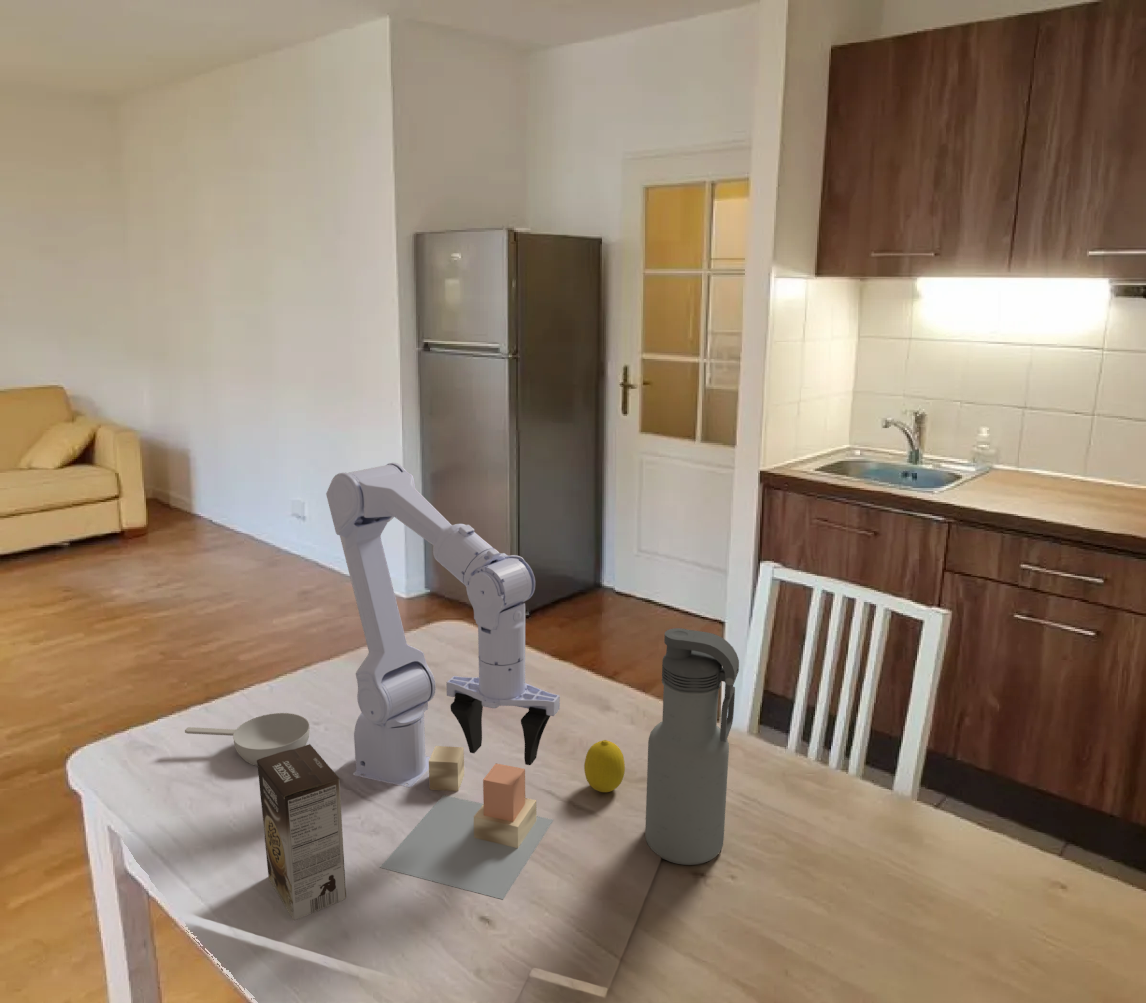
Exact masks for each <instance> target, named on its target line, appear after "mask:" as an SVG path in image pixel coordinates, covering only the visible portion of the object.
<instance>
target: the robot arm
mask: <svg viewBox="0 0 1146 1003" xmlns="http://www.w3.org/2000/svg"><path fill="white" fill-rule="evenodd" d="M325 495H326V498H327V504H328V506H329V507H328V508H329V511H330V515H331V519H332V522H333V528H334V530H335V534H336V535H337V536H339V538H340V542H341V546H342V550H343V554H344V558H345V562H346V566H347V570H348V573H349V578H350V582H351V585H352V590H353V594H354V597H355V602H356V606H357V610H358V614H359V618H360V622H361V625H362V626H361V627H362V630H363V634H364V638H365V639H364V640H365V642H366V646H367V652H368V653H367V656H365V658H364V660H363V662H362V663H361V664H360V666H359V667H358V668H357V670H356V672H355V678H356V682H357V696H356V697H357V704H358V707H359V709H360V714H359V716H358V717H357V719H356V722H355V726H354V730H353V739H354V740H353V742H354V743H353V744H354V760H355V771H354V772H353V773H352V774H353V776H356V777H361V778H365V779H369V780H375V781H378V782H382V783H387V784H391V785H396V786H401V787H406V788H412V787H414V785H415V784H417V782H418V781H419V780H420V779H421V778H422V777H423V776H424V775H425V774H426V773H427V772H429V759H430V757H431V756H427V755H426V754H427V753H426V734H425V733H426V732H425V712H426V711H428V709H429V704H428V702H431V701H432V700H433V698H434V696H436V695H435V694H436V690H437V689H436V688H437V687H436V685H437V684H436V680H435V676H434V674H433V672H432V670H431V668H430V667H429V665H428V663H427V661H426V657H425V654H424V652H423V651H422V650H421V649H418V648H417V647H414V646H411V645H409V644H408V643H407V638H406V635H405V632H404V631H405V630H404V627H403V622H402V618H401V614H400V610H399V607H398V603H397V598H396V594H395V590H394V586H393V583H392V578H391V574H390V569H389V566H388V562H387V558H386V554H385V549H384V546H383V542H382V536H381V535H382V533H384V530H385V528H386V527H387V525H388V523H389V522H390V521H392V520H393V519H394V518H395V519H397V520H398V521H400V522H401V523H402V524H404V525H405V526H406V527H407V528H409V529H411V531H413V532H414V533H416V534H417V535H418V536H420V538H423V539H424V540H425V541H426V542H428V543H429V544H431V545H432V546H433V549H432V553H433V554H432V555H433V558H434V559H435V560H436V561H437V563H439V564H440V565H441V566H442V567H443V568H445V569H446V570H447V571H448V572H449V573H450V574H451V575H452V576H454V577H455V578H456V579H457V580H458V581H459V582H461V583H462V584H463V585H464V586H465V587H466V588H465V589H466V594H467V598H468V600H469V602H470V604H471V606H472V608H473V620H475V624H476V625H477V632H478V634H477V636H478V638H477V639H478V640H477V641H478V642H477V643H478V644H477V645H478V649H477V650H478V677H477V676H475V677H472V676H469V677H468V676H458V675H453V676H452V677H450V679H448V680H447V681H445V682H446V696H447V697H452V698H454V699H453V701H452V703H451V704H450V705H449V706H450V712H451V713H452V714H453V716H454V717H455V718H456V720H457V721H458V724H459V725H460V727H461V729H462V732H463V734H464V737H465V740H466V744H467V746H468V750H469V753H471V754H475V753H476V752H478V751H479V749H480V748H481V747H482V741H483V723H482V722H483V720H482V718H483V710H484V709H483V707H484V708H488V709H497V708H499V707H516V708H517V707H518V708H522V709H528V711H527V712H526V713H525V714H524V715H523V716H522V718H521V719H520V724H521V728H522V732H523V739H524V740H523V741H524V757H523V758H524V764H525V765H526V766H531V765H532V764H533V763H534V762H535V760H536V759H537V756H538V751H539V746H540V742H541V739H542V736H543V733H544V731H545V728H546V726H547V724H548V721H549V719H550V718H551V717H555V716H556V714H557V713H559V711H560V709H561V708H560V704H561V703H560V701H561V700H560V698H561V697H560V694H557V693H556V694H555V693H552V692H549V691H546V690H544V689H540V688H539V687H537V686H534V685H531V684H529V683H527V682H526V601H528V600H530V599H531V598H532V597H533V595H534V593H535V590H536V577H535V575H534V571H533V569H532V568H531V565H529V563H528V562H526V560H525V559H524V558H523V557H522V556H520V555H517V554H511V555H509V554H506V553H505V552H502V553H501V552H499V551H498V550H497V549H496V548H494V547H493V546H492V545H491V544H489V543H488V542H487V541H486V540H485V539H483V538H482V537H481V536H480V535H479V534H478V533H477V532H475V530H476V529H475V528H473V527H472V526H471V525H470V524H464V523H455V524H451V523H450V521H449V520H447V519H446V518H445V516H444V515H442V514H441V513H440V512H439V510H438V509H436V508H435V506H433V505H432V504H431V503H430V502H429V501H428V500H427V498H425V497H424V495H422V494H421V492H420V491H418V490H417V489H416V482H415V479H414V476H413V474H412V473H410V472H408V471H407V470H406V469H405V468H404V466H403V465H401V464H400V463H397V462H389V463H387V464H385V465H384V464H383V465H380V466H374V467H370V468H365V469H361V470H359V469H358V470H355V471H351V472H339V473H337V474H335V475H334V476H333V478H332V480H331V482H330V483H329V486H328V488H327V491H326V493H325Z"/></svg>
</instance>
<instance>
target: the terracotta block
mask: <svg viewBox="0 0 1146 1003" xmlns="http://www.w3.org/2000/svg"><path fill="white" fill-rule="evenodd" d="M482 788H483V789H482V791H483V792H482V793H483V795H482V797H483V804H484V816H489V817H494V818H498V819H503V820H508V821H513V822H514V820H515V819H516V817H517V816H518V814H519V813H520V811H521V810H522V808H523V806H524V805H525V798H526V768H522V767H517V766H513V765H507V764H501V763H495V764H494V765H493V766H492V767H491V769H490V770H489V772H488V773H487V774H486V776H485V777H484V778H483V780H482Z"/></svg>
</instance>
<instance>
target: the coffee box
mask: <svg viewBox="0 0 1146 1003" xmlns="http://www.w3.org/2000/svg"><path fill="white" fill-rule="evenodd" d="M257 765H258V766H257ZM257 765H256V766H257V773H258V774H257V775H258V782H259V783H258V784H259V794H260V796H259V797H260V803H261V813H262V824H263V833H264V845H265V852H266V853H265V855H266V866H267V875H268V880H269V881H270V883H271V885H272V887H273V889H274V890H275V892H276V894H277V895H278V897H279V899H280V901H281V902H282V904H283V905H284V907H285V909H286V910H287V913H289V915H290V917H291V919H292V920H293V921H296V920H300V919H301V918H303V917H307V916H309V915H311V914H313V913H314V914H315V912H318V911H321V910H323V909H325V908H327V907H330V906H332V905H335V904H336V903H340V902H341V901H344V900H345V899H347V890H346V873H345V856H344V855H345V853H344V837H343V833H344V832H343V817H342V815H343V814H342V804H341V802H342V800H341V787H340V786H341V784H340V777H339V776H338V775H337V774H336V773H335V771H334V770H333V769H332V768H331V767H330V765H329V764H328V763H327V762H326V761H325V759H324V758H323V757H321V755H320V754H319V753H318V751H316V749H315V748H314V746H312V745H311V744H310V743H308V744H306V745H305V746H303V747H300V748H296V749H291V750H287V751H283V752H279V753H276V754H273V755H270V756H267V757H264V758H261V759H258V760H257Z"/></svg>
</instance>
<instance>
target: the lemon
mask: <svg viewBox="0 0 1146 1003" xmlns="http://www.w3.org/2000/svg"><path fill="white" fill-rule="evenodd" d="M584 759H585V760H584V765H583V766H584V767H583V770H584V775H585V779H586V782H587V783H588V785H589V786H590V787H591V788H592V789H593V790H595V791H597V792H600V793H609V792H612V791H614V790H616V789H617V788H618V787H619V786H620V785H621V784H622V782H623V780H624V776H625V772H626V767H625V766H626V764H625V759H624V754H623V752H622V750H621V748H620V747H619V745H617V744H616V743H614V742H612V741H609V740H607V739H603V740H599V741H596V742H595V743H593V744H592V745H591V746H590V748H589V749H588V751H587V753H586V756H585V758H584Z"/></svg>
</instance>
